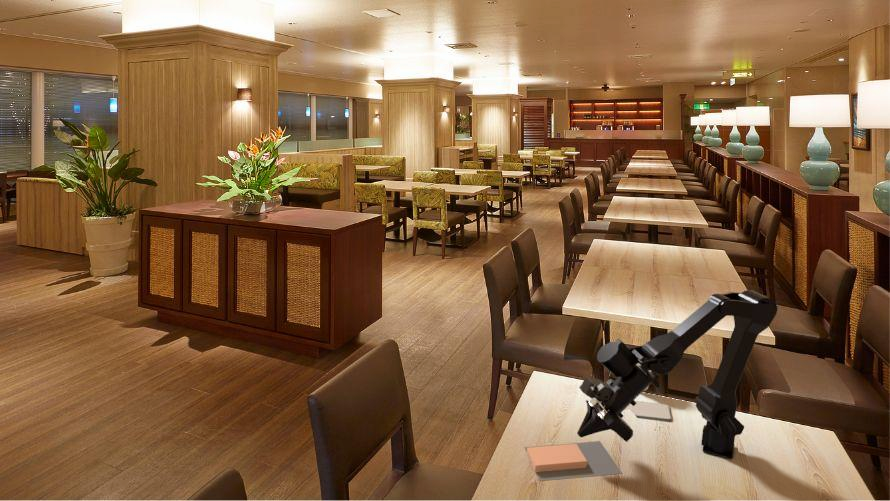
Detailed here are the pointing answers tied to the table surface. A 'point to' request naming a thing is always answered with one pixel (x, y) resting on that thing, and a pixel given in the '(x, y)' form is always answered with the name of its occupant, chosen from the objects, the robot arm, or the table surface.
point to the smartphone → (650, 411)
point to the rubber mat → (596, 463)
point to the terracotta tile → (556, 457)
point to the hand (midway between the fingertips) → (578, 435)
